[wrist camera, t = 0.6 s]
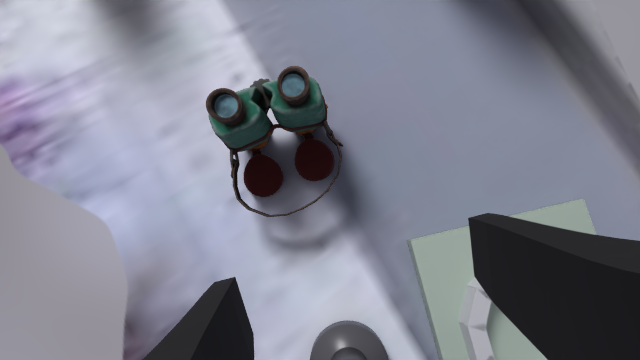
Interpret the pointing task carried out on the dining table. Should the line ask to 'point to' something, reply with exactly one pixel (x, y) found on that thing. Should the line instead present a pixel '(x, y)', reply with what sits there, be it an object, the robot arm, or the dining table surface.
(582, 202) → the mount board
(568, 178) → the dining table surface
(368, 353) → the joystick
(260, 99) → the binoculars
